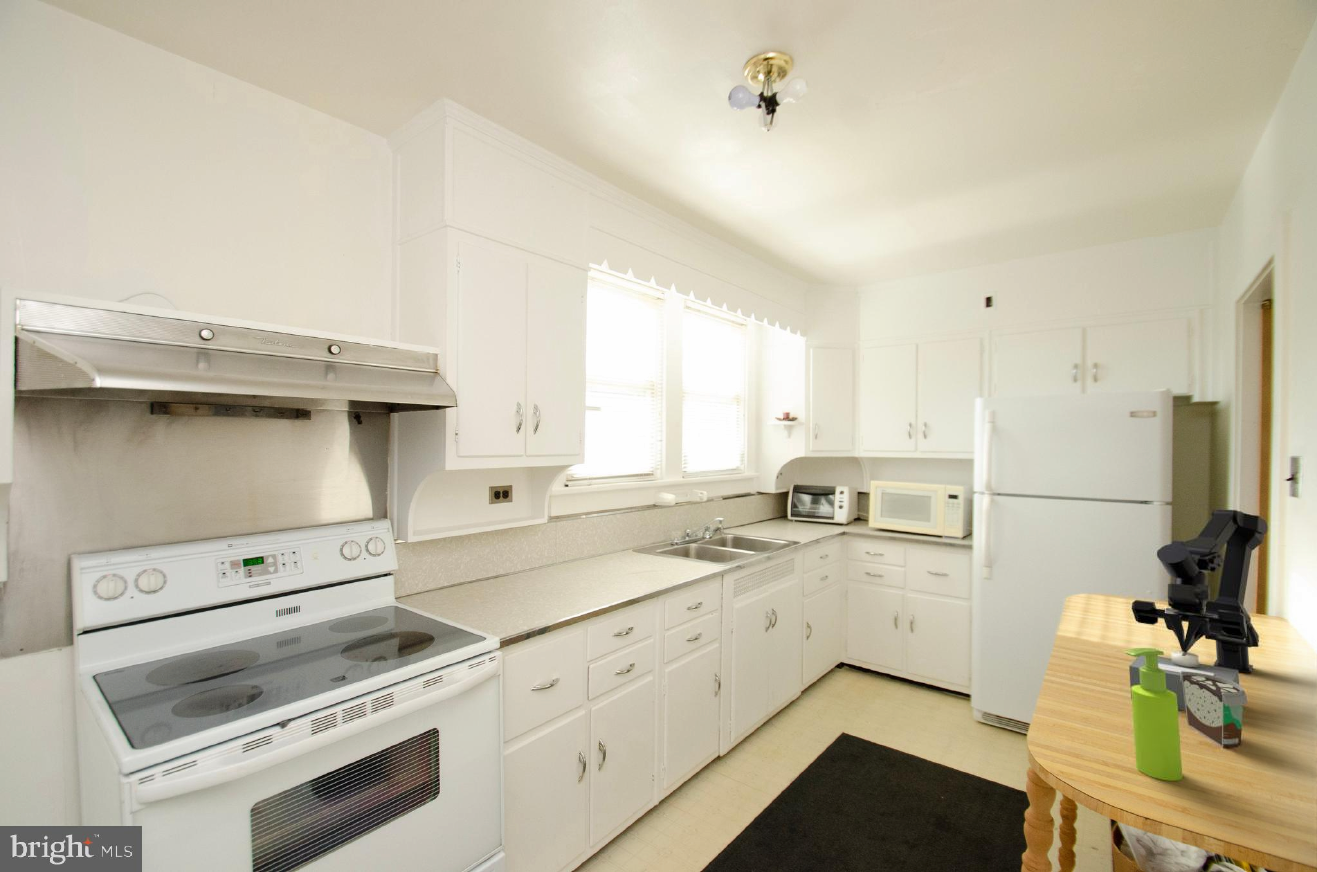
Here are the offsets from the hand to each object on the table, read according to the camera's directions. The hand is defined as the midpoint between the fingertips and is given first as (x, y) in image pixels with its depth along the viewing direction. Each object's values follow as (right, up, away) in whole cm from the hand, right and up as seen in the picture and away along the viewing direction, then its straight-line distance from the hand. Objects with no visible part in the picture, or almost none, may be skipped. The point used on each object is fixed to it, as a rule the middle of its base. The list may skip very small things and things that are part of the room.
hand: (1184, 650), depth 129 cm
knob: (0, -7, 0) cm, 7 cm away
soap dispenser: (-31, -10, -30) cm, 44 cm away
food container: (-9, -10, -19) cm, 23 cm away
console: (-2, -10, -2) cm, 10 cm away
